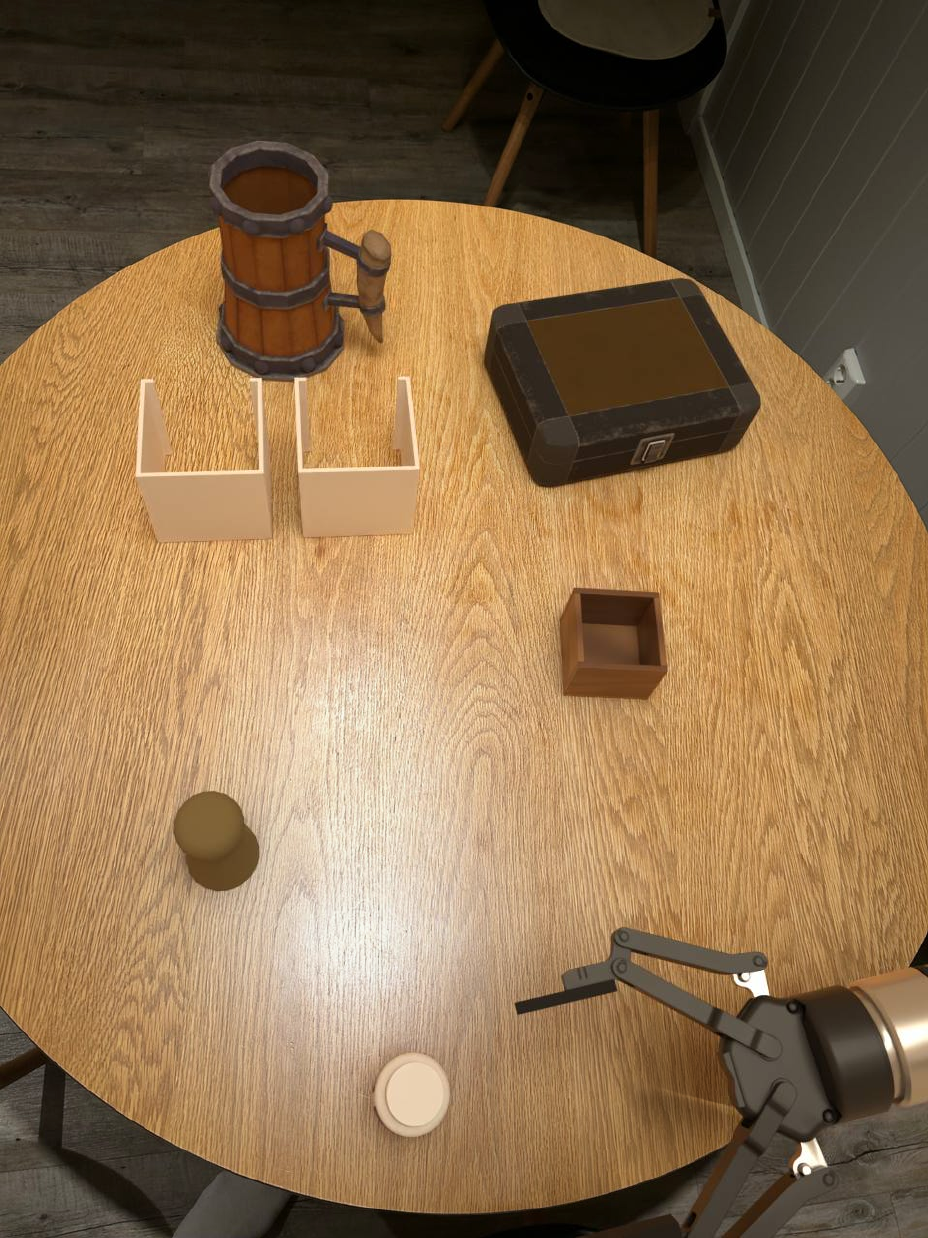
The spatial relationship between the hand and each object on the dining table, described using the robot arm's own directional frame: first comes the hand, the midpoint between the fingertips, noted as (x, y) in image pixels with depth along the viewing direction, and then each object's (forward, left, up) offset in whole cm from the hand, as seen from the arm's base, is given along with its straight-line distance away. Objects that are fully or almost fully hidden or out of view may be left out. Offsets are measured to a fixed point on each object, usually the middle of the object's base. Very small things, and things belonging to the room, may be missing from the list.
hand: (541, 1125), depth 58 cm
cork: (+20, +23, -16) cm, 35 cm away
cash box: (+72, -14, -16) cm, 75 cm away
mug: (+78, +21, -16) cm, 82 cm away
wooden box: (+40, -11, -16) cm, 44 cm away
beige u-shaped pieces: (+57, +21, -16) cm, 63 cm away
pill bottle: (+2, +7, -16) cm, 18 cm away
